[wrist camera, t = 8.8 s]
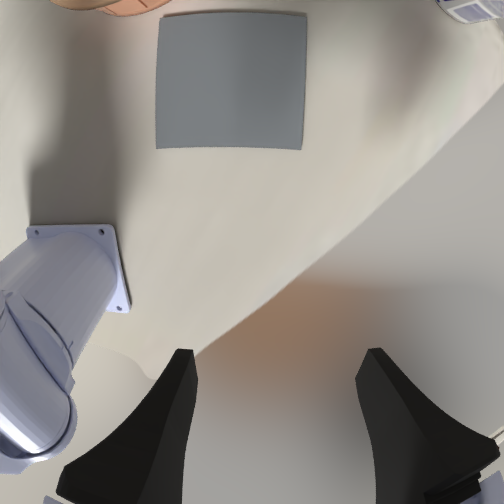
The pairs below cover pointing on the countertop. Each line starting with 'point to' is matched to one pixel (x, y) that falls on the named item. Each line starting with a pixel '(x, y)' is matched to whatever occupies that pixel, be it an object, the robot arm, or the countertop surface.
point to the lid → (84, 4)
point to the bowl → (132, 7)
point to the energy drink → (473, 10)
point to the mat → (231, 80)
